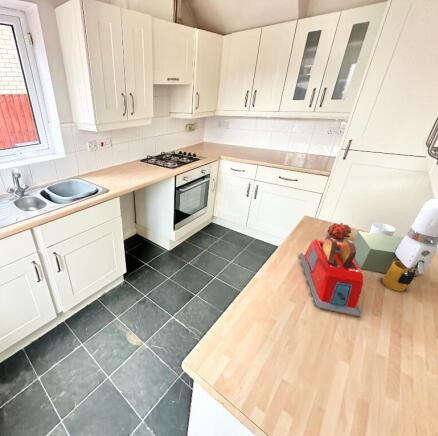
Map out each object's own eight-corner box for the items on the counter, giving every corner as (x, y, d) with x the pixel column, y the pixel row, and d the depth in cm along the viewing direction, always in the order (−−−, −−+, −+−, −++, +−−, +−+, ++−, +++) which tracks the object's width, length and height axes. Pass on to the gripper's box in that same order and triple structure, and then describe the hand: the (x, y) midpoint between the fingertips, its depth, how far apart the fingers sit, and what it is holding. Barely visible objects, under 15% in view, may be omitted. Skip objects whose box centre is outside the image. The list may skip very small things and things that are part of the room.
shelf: (393, 256, 106) (404, 237, 101) (410, 277, 94) (423, 257, 90) (349, 249, 111) (358, 231, 106) (360, 268, 99) (370, 248, 95)
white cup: (369, 248, 111) (378, 230, 106) (360, 239, 118) (368, 221, 113) (389, 251, 109) (400, 232, 105) (379, 241, 116) (388, 223, 111)
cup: (399, 281, 93) (411, 262, 88) (408, 292, 88) (421, 273, 83) (379, 277, 95) (389, 259, 90) (386, 288, 90) (398, 269, 85)
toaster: (361, 318, 78) (388, 274, 69) (316, 308, 82) (335, 265, 73) (332, 259, 105) (348, 222, 96) (298, 254, 109) (311, 217, 100)
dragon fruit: (345, 238, 122) (328, 246, 119) (334, 224, 125) (317, 231, 122) (360, 232, 114) (342, 241, 111) (348, 217, 117) (330, 225, 114)
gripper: (456, 253, 72) (425, 296, 81) (423, 225, 87) (399, 264, 95) (424, 248, 75) (396, 290, 83) (396, 222, 89) (375, 260, 98)
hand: (398, 276), depth 89 cm, fingers closed on cup, 6 cm apart
